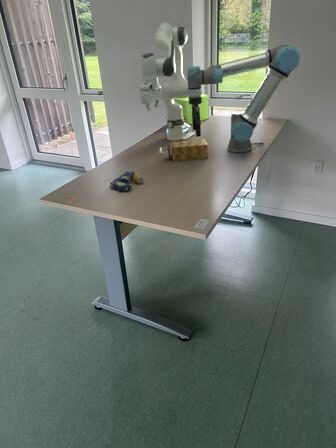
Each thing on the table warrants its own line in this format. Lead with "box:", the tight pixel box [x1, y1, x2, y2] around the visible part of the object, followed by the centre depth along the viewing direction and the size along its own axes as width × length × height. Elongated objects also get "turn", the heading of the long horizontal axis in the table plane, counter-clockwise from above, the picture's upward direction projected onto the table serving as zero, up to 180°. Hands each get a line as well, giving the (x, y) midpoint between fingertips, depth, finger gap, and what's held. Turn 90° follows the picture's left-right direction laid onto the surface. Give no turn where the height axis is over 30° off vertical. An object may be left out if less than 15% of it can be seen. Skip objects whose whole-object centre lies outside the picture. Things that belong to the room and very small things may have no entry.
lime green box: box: [174, 93, 209, 126], centre depth 283 cm, size 25×21×23 cm
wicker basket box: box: [170, 138, 208, 162], centre depth 210 cm, size 22×11×9 cm, turn 91°
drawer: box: [159, 143, 172, 160], centre depth 210 cm, size 26×10×7 cm, turn 91°
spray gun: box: [109, 170, 144, 192], centre depth 182 cm, size 21×4×15 cm
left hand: (153, 108), depth 203 cm, fingers open, 8 cm apart
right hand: (196, 133), depth 202 cm, fingers open, 13 cm apart
